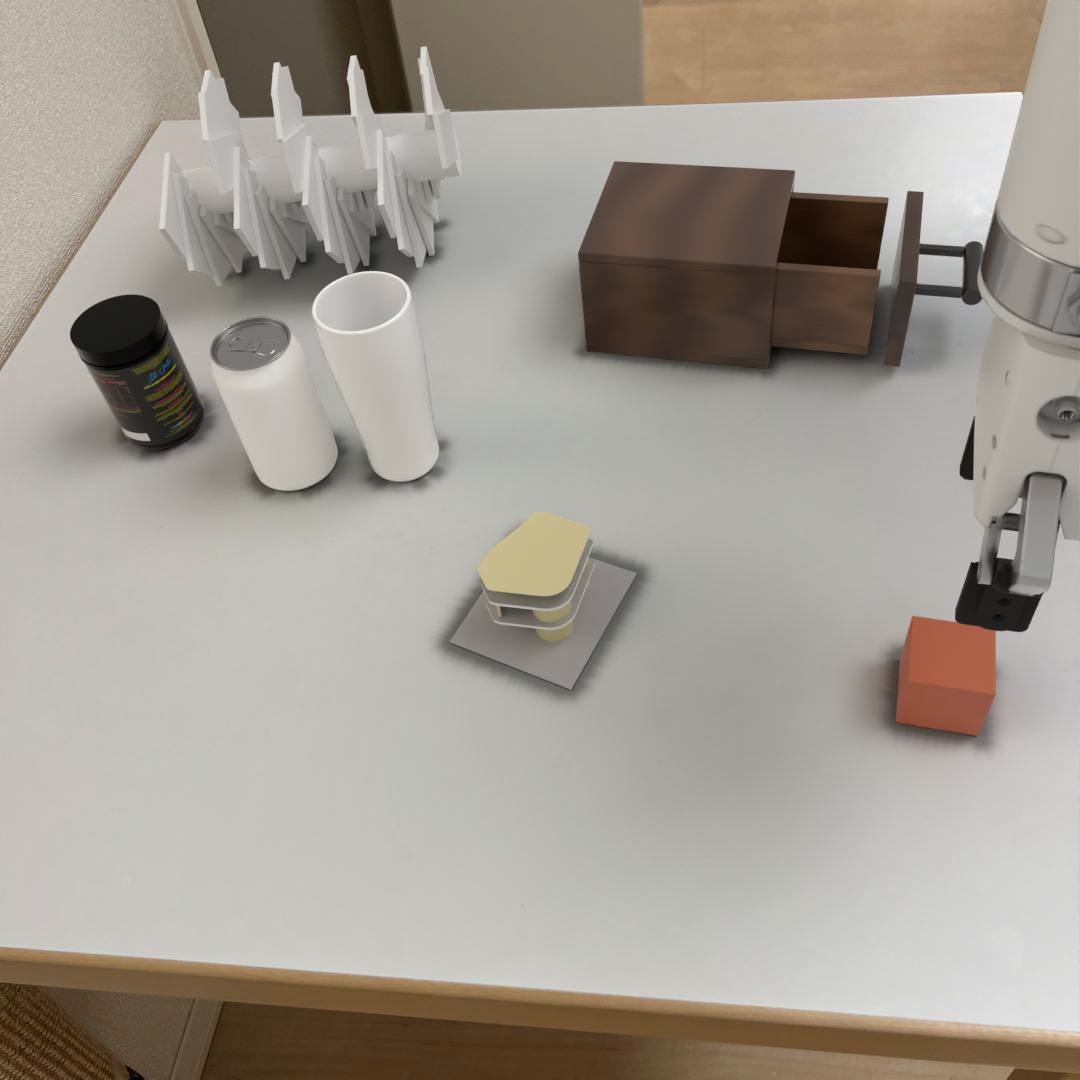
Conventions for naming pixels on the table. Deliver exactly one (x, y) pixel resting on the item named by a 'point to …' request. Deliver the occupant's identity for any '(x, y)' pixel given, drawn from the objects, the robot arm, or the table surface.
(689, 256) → the cabinet
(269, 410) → the can
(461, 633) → the stacked layers on plate
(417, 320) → the drinking glass
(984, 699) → the block
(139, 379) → the supplement container
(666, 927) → the table surface
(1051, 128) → the robot arm
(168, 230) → the spiral staircase
